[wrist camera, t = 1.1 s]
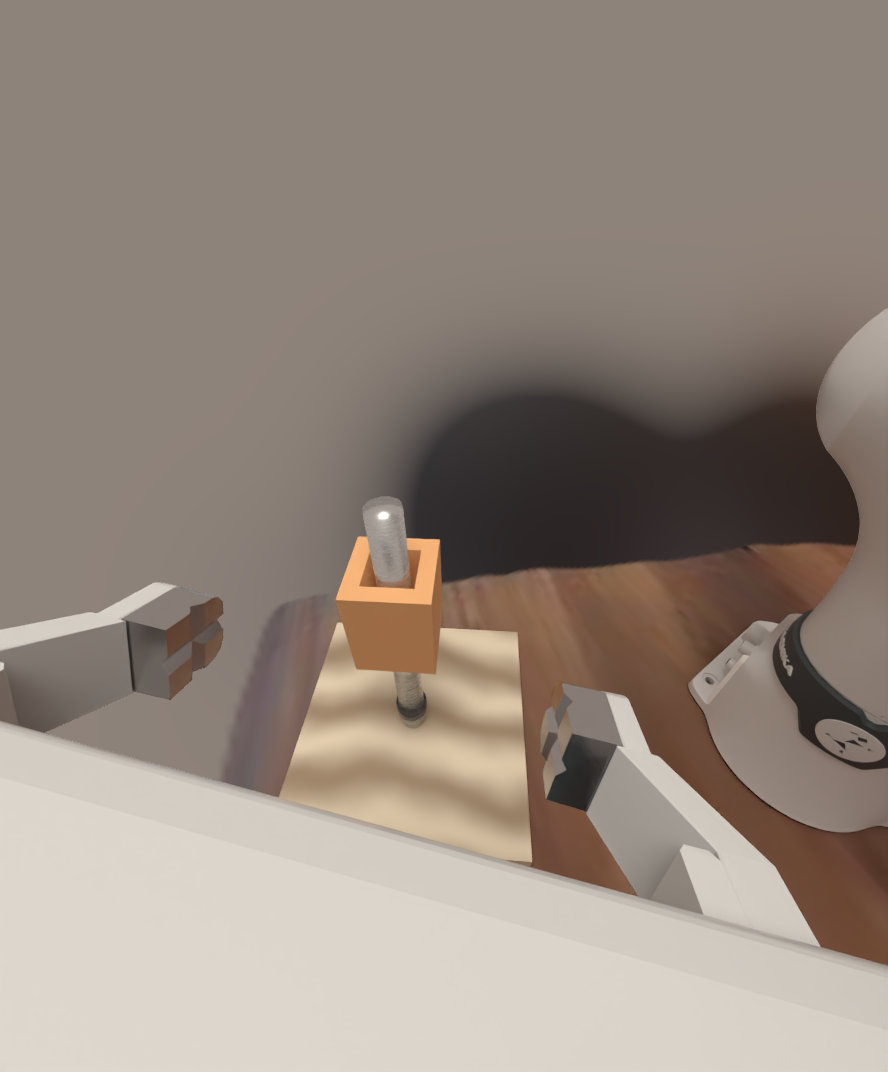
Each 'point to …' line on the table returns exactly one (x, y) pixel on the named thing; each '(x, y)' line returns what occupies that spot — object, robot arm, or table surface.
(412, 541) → the sleeve
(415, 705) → the steel pipe
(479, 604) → the table surface
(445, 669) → the pipe stand
